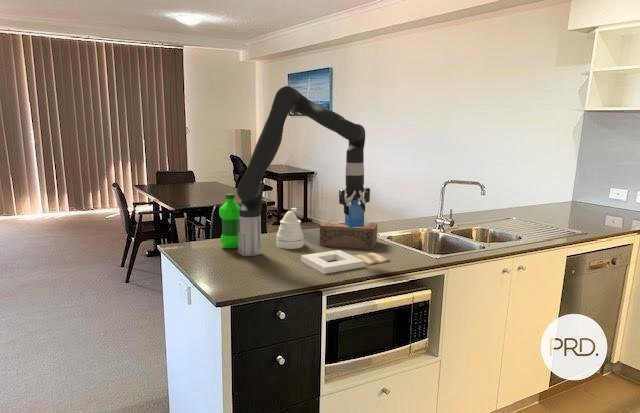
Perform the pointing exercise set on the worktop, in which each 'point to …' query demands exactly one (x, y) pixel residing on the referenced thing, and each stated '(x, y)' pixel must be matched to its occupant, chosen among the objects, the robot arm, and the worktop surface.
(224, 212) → the plastic bottle
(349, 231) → the tissue box cover
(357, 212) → the perfume bottle
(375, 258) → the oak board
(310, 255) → the socket block
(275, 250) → the worktop surface
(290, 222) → the honey pot
